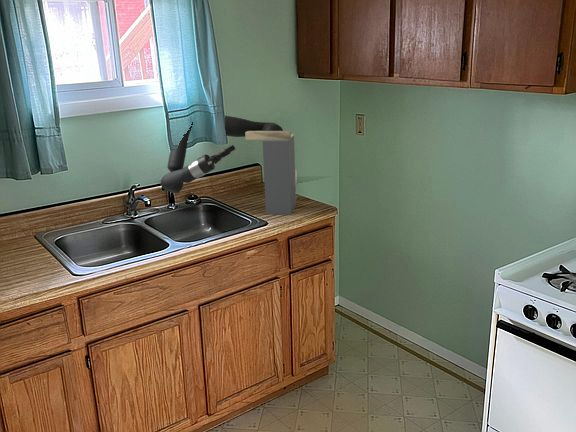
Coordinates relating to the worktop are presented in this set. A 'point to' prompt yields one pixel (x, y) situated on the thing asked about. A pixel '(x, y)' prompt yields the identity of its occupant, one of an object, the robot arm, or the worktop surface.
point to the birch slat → (268, 135)
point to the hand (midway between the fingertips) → (231, 148)
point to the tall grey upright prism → (279, 176)
